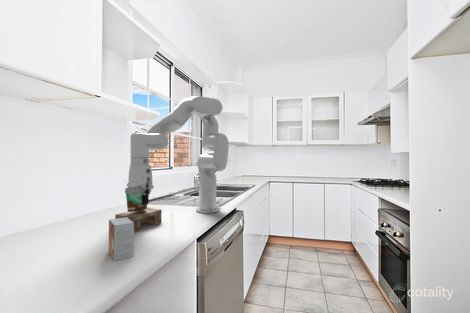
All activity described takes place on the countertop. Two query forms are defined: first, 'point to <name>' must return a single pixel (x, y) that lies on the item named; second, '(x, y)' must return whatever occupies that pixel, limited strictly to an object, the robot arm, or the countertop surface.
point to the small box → (121, 238)
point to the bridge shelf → (147, 220)
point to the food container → (135, 199)
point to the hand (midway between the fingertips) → (139, 203)
